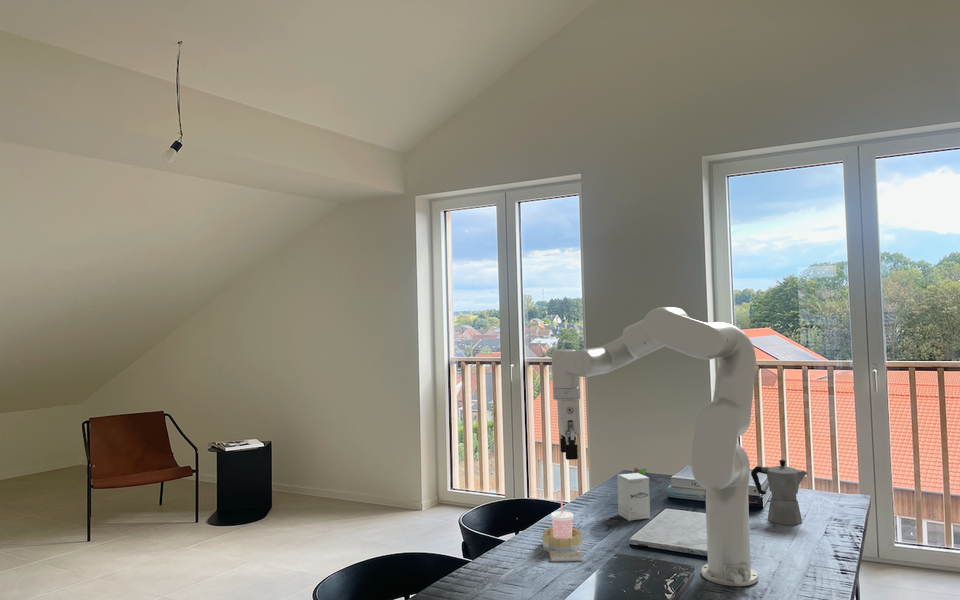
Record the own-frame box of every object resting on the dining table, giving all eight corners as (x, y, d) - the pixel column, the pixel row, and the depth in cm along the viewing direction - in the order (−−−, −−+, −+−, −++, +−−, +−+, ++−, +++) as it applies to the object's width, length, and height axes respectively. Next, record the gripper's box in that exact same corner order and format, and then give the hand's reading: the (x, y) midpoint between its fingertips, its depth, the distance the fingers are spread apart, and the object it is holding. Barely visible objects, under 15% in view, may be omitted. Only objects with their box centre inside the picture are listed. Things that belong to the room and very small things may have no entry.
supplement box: (629, 521, 199) (627, 479, 200) (617, 514, 207) (616, 474, 207) (651, 518, 201) (649, 477, 202) (639, 512, 209) (637, 471, 209)
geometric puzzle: (657, 481, 237) (647, 461, 242) (643, 484, 234) (633, 464, 238) (646, 490, 242) (636, 470, 246) (632, 493, 238) (622, 473, 243)
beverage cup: (557, 542, 182) (556, 491, 183) (578, 546, 179) (576, 494, 180) (547, 549, 177) (546, 497, 178) (569, 553, 174) (567, 499, 174)
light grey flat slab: (587, 560, 168) (587, 552, 168) (546, 561, 168) (546, 553, 168) (579, 540, 183) (579, 533, 184) (541, 541, 184) (541, 534, 184)
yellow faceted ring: (584, 554, 173) (584, 538, 173) (544, 555, 173) (544, 539, 173) (576, 535, 188) (576, 520, 188) (540, 535, 188) (540, 521, 189)
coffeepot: (808, 518, 198) (806, 457, 198) (810, 527, 189) (808, 464, 190) (753, 513, 204) (750, 454, 204) (752, 522, 195) (750, 461, 196)
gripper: (585, 396, 175) (588, 461, 174) (575, 390, 192) (577, 449, 192) (557, 397, 175) (559, 462, 174) (549, 391, 192) (551, 450, 192)
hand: (569, 455), depth 183 cm, fingers open, 9 cm apart
